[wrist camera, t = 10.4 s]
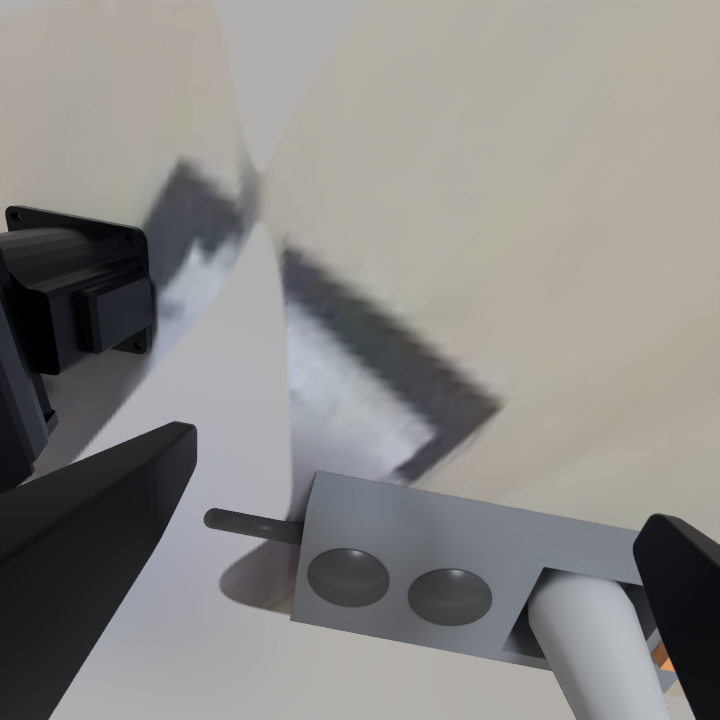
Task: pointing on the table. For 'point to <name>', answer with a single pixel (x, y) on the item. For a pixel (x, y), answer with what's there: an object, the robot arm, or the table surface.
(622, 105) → the table surface
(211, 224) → the table surface
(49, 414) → the robot arm
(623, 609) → the salt shaker
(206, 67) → the table surface
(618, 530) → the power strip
